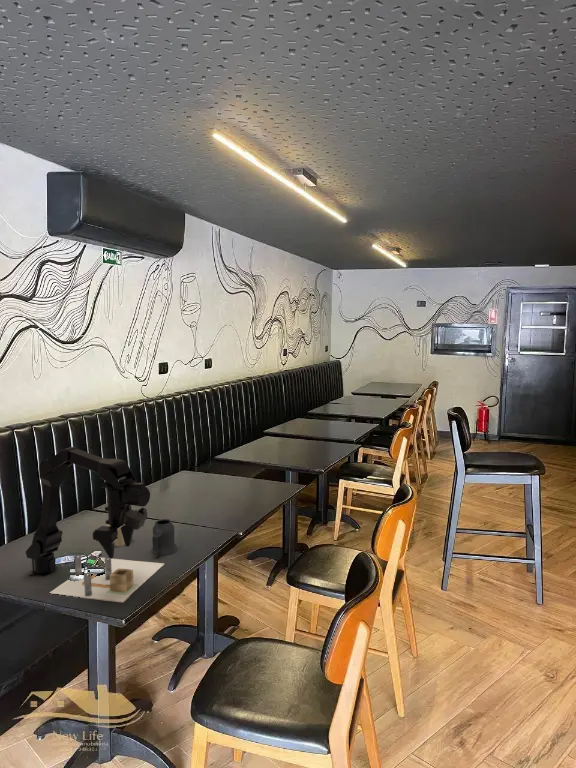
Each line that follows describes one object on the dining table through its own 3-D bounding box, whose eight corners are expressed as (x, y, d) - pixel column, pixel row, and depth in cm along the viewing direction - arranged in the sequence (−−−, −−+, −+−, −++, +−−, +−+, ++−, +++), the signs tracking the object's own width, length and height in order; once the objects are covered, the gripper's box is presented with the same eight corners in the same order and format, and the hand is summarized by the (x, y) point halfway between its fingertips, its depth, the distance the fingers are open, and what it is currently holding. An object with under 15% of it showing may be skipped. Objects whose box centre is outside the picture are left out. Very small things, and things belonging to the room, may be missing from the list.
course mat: (49, 594, 167) (49, 592, 167) (99, 558, 193) (99, 556, 193) (123, 602, 161) (123, 600, 161) (164, 564, 187) (164, 563, 187)
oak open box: (110, 591, 167) (109, 575, 167) (119, 583, 172) (118, 568, 171) (125, 592, 166) (124, 576, 165) (133, 585, 171) (132, 569, 170)
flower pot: (102, 544, 206) (101, 521, 205) (125, 537, 212) (124, 515, 211) (114, 551, 199) (113, 528, 198) (137, 543, 206) (136, 521, 205)
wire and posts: (85, 596, 164) (84, 575, 163) (74, 574, 179) (73, 555, 178) (118, 588, 169) (117, 568, 168) (105, 567, 184) (104, 549, 183)
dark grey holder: (158, 546, 203) (156, 516, 202) (181, 547, 201) (180, 517, 200) (143, 559, 191) (141, 528, 190) (167, 561, 189) (166, 529, 188)
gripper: (124, 514, 156) (127, 567, 157) (156, 494, 174) (158, 542, 175) (90, 511, 158) (93, 564, 160) (124, 492, 176) (126, 539, 178)
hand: (119, 552), depth 168 cm, fingers open, 9 cm apart
